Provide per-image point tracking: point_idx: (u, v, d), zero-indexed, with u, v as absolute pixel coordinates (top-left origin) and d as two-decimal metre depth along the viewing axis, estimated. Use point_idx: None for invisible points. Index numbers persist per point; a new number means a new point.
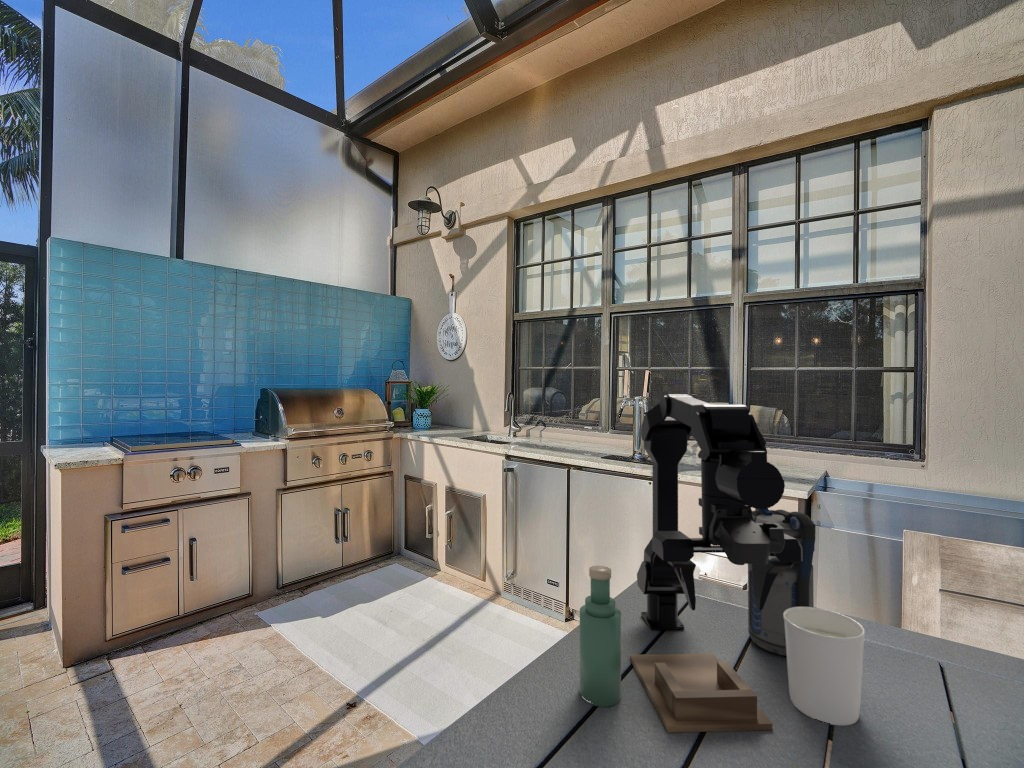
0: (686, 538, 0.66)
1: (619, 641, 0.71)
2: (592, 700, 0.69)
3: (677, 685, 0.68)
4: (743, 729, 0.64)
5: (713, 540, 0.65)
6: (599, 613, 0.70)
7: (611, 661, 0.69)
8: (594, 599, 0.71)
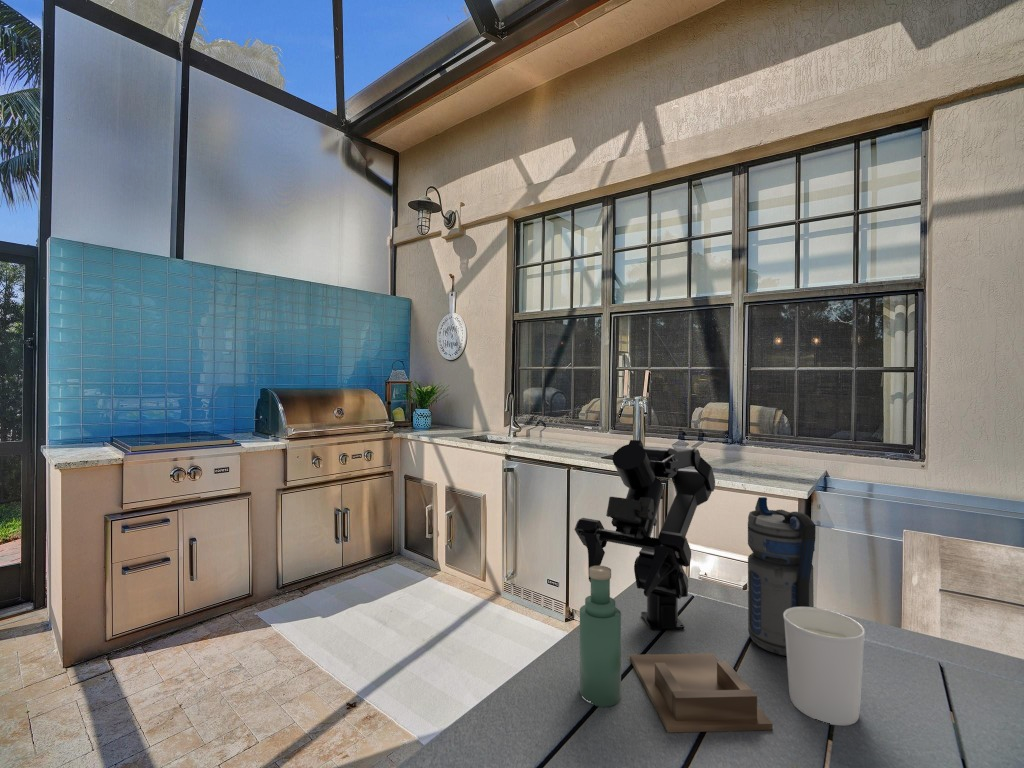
0: (598, 521, 0.86)
1: (619, 641, 0.71)
2: (592, 700, 0.69)
3: (677, 685, 0.68)
4: (743, 729, 0.64)
5: (612, 519, 0.83)
6: (599, 613, 0.70)
7: (611, 661, 0.69)
8: (594, 599, 0.71)
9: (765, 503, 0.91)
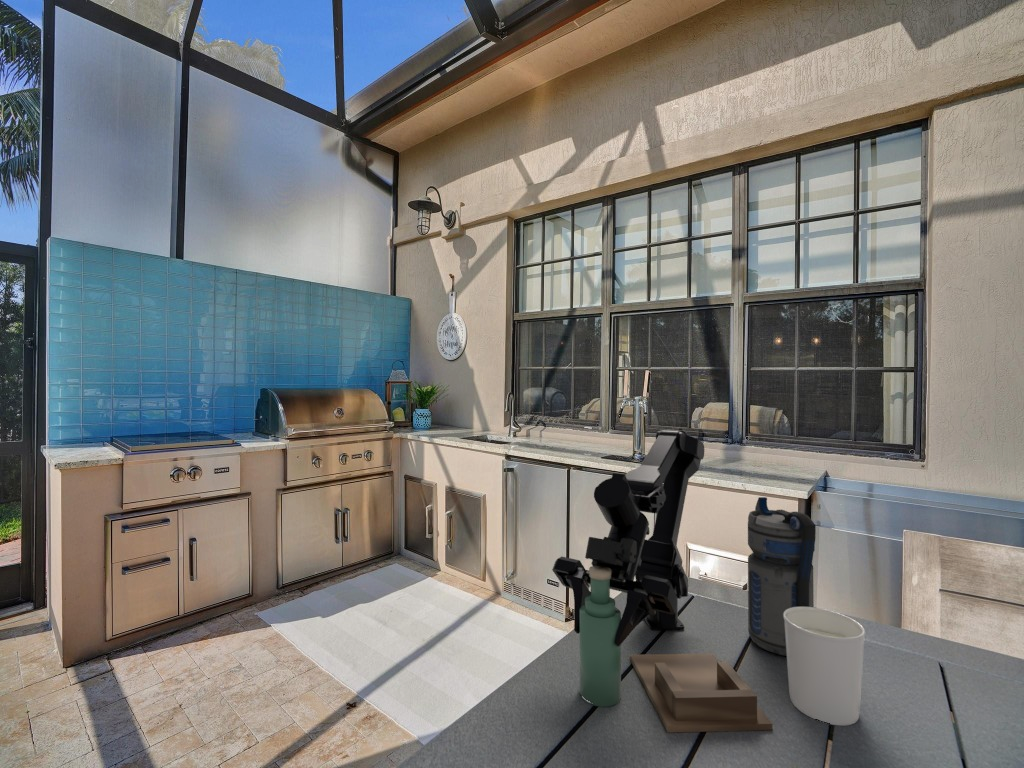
0: (577, 560, 0.79)
1: None
2: (592, 700, 0.69)
3: (677, 685, 0.68)
4: (743, 729, 0.64)
5: (593, 560, 0.77)
6: (599, 613, 0.70)
7: (611, 661, 0.69)
8: (594, 599, 0.71)
9: (765, 503, 0.91)
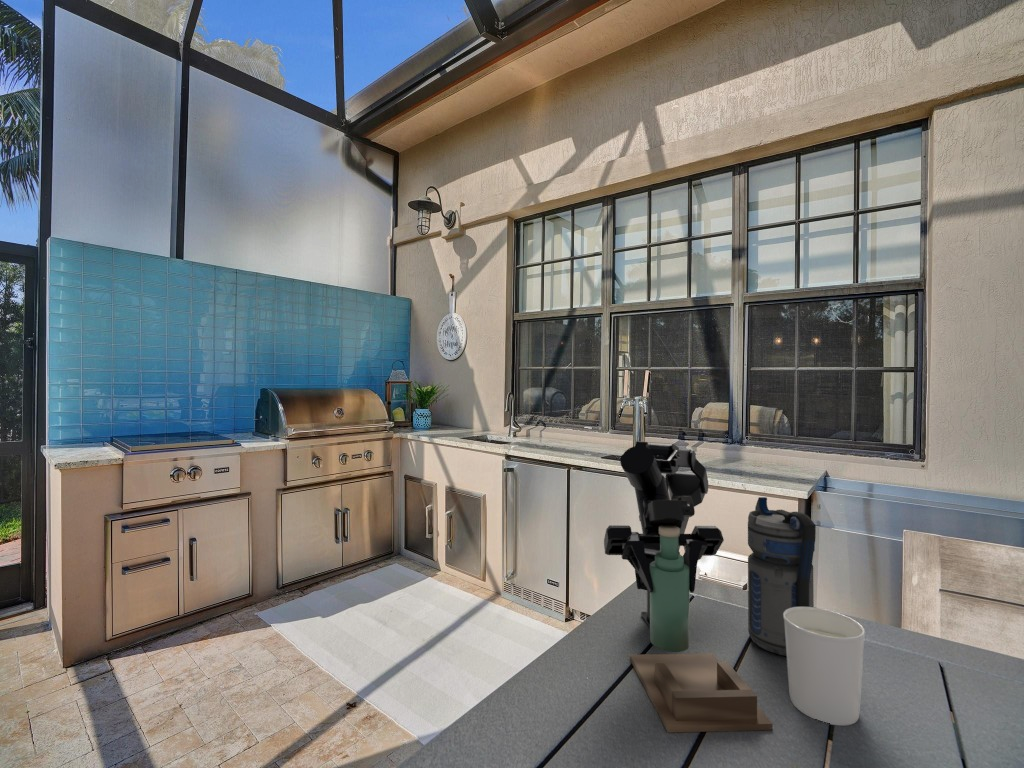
0: None
1: None
2: (676, 648, 0.75)
3: (677, 685, 0.68)
4: (743, 729, 0.64)
5: (646, 522, 0.82)
6: (678, 567, 0.76)
7: (688, 607, 0.76)
8: (669, 556, 0.76)
9: (765, 503, 0.91)
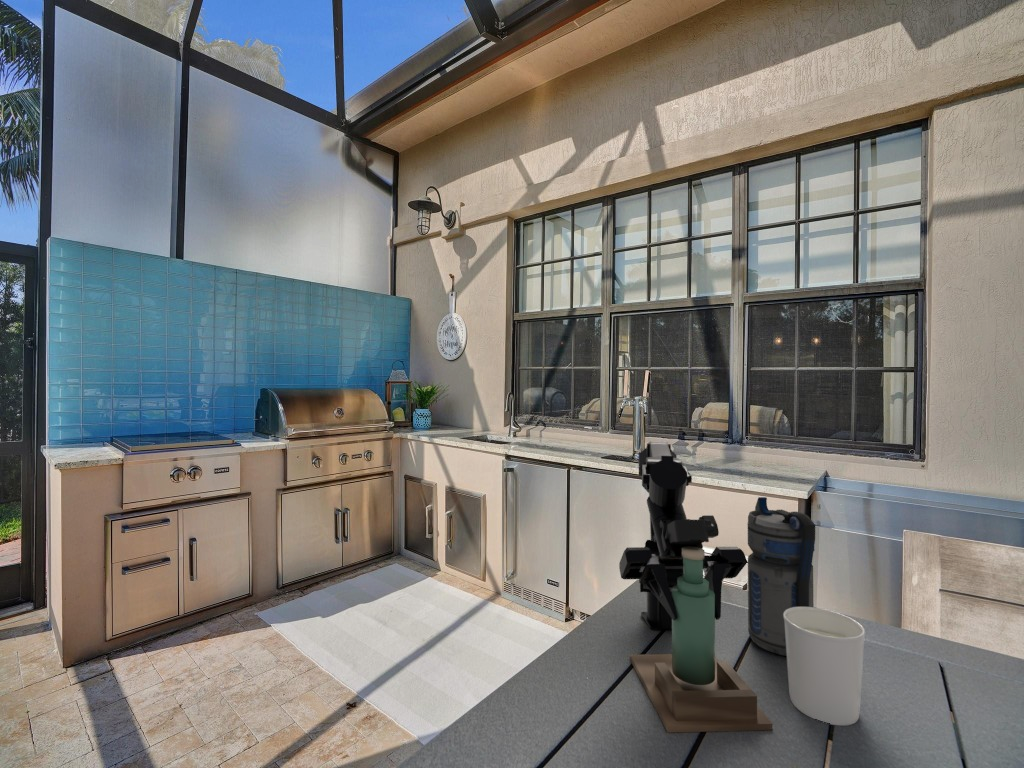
0: (644, 548, 0.77)
1: None
2: (702, 680, 0.70)
3: (677, 685, 0.68)
4: (743, 729, 0.64)
5: (665, 544, 0.76)
6: (704, 592, 0.71)
7: (714, 636, 0.71)
8: (694, 580, 0.71)
9: (765, 503, 0.91)
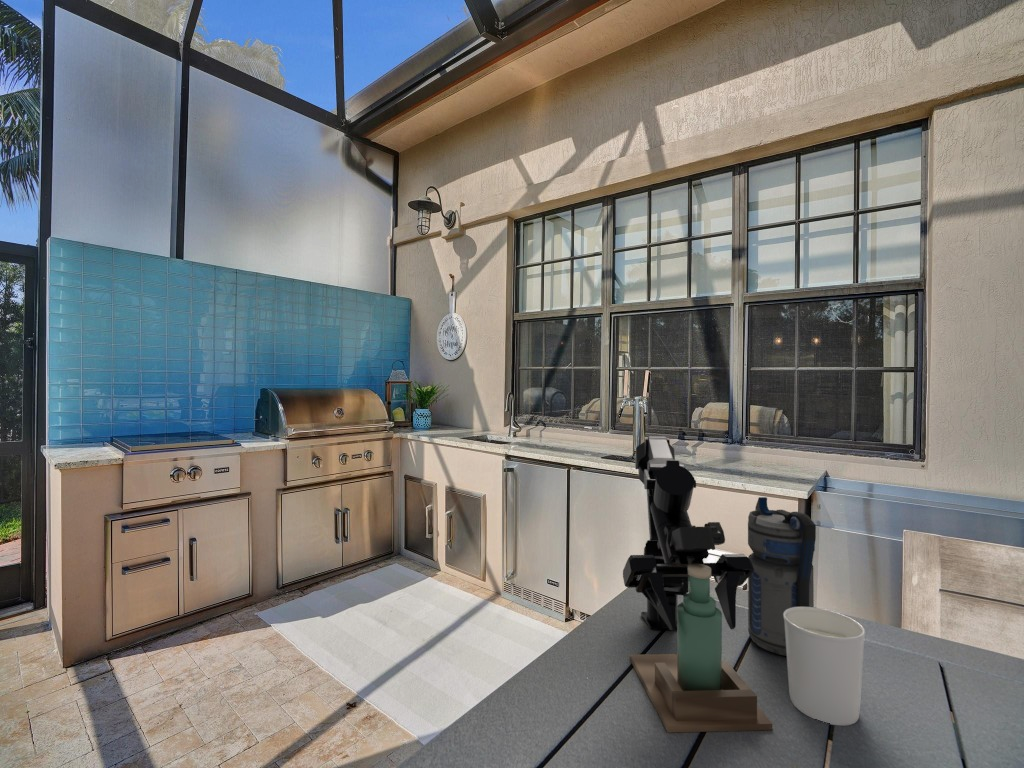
0: (648, 555, 0.75)
1: None
2: None
3: (677, 685, 0.68)
4: (743, 729, 0.64)
5: (670, 551, 0.74)
6: (710, 612, 0.69)
7: (721, 656, 0.69)
8: (701, 599, 0.69)
9: (765, 503, 0.91)
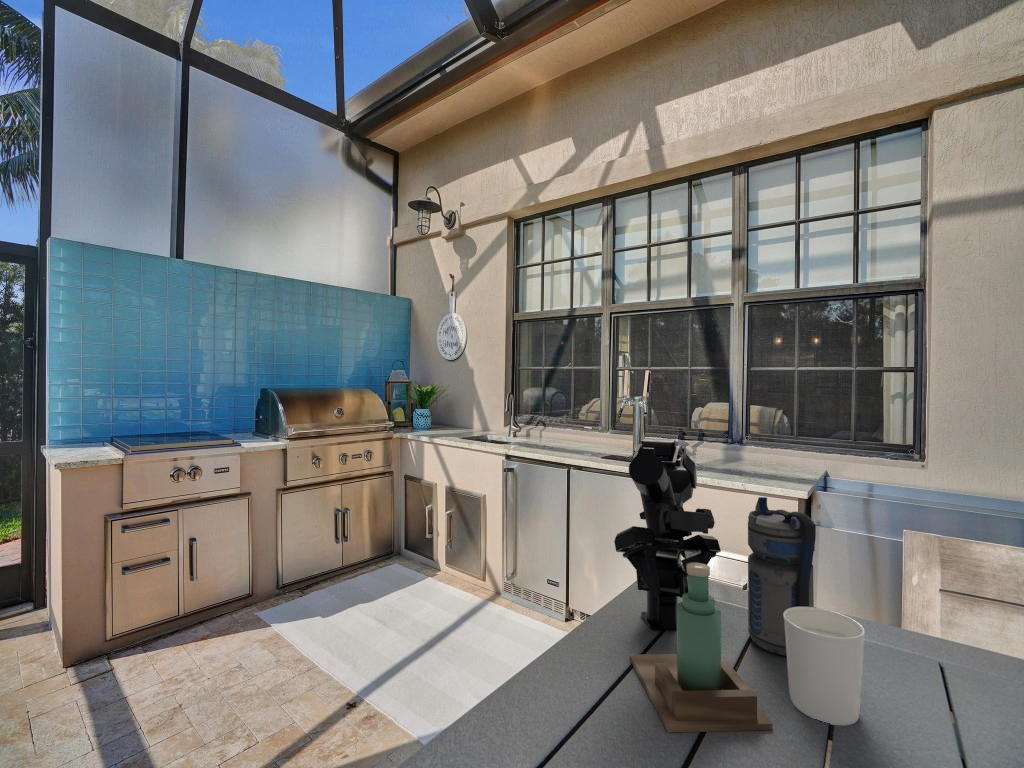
0: (645, 528, 0.81)
1: None
2: None
3: (677, 685, 0.68)
4: (743, 729, 0.64)
5: (665, 527, 0.81)
6: (709, 610, 0.69)
7: (720, 655, 0.70)
8: (700, 597, 0.70)
9: (765, 503, 0.91)
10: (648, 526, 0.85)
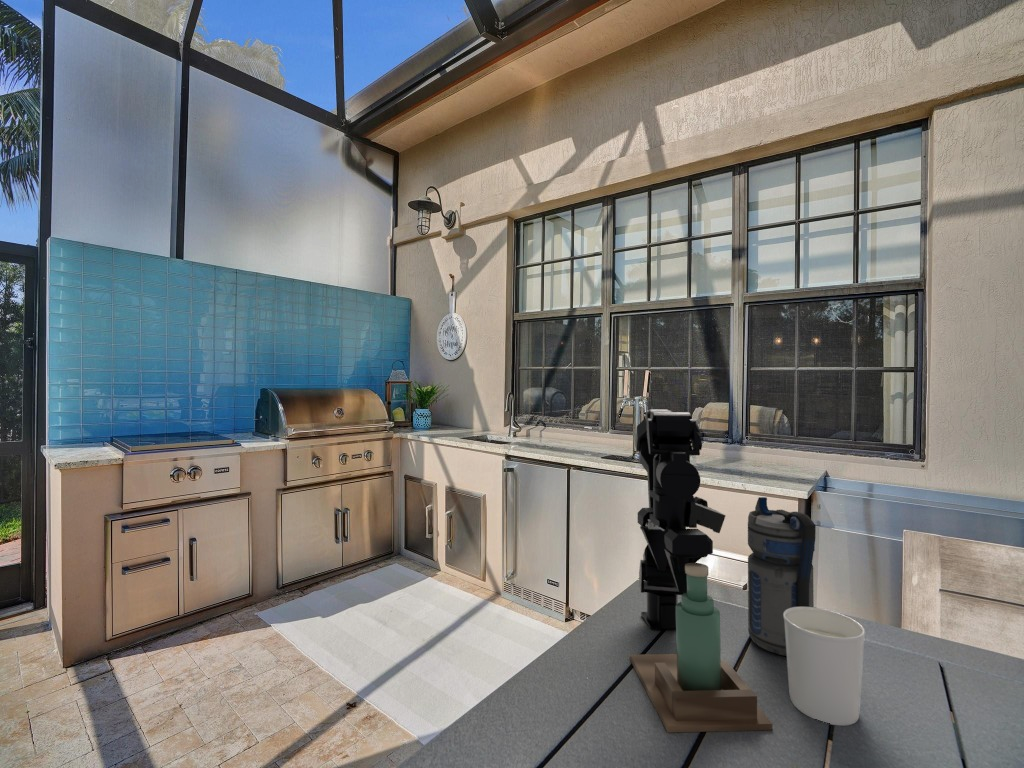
0: (696, 529, 0.76)
1: None
2: None
3: (677, 685, 0.68)
4: (743, 729, 0.64)
5: (696, 523, 0.79)
6: (708, 610, 0.69)
7: (720, 655, 0.69)
8: (698, 597, 0.70)
9: (765, 503, 0.91)
10: (671, 514, 0.79)
